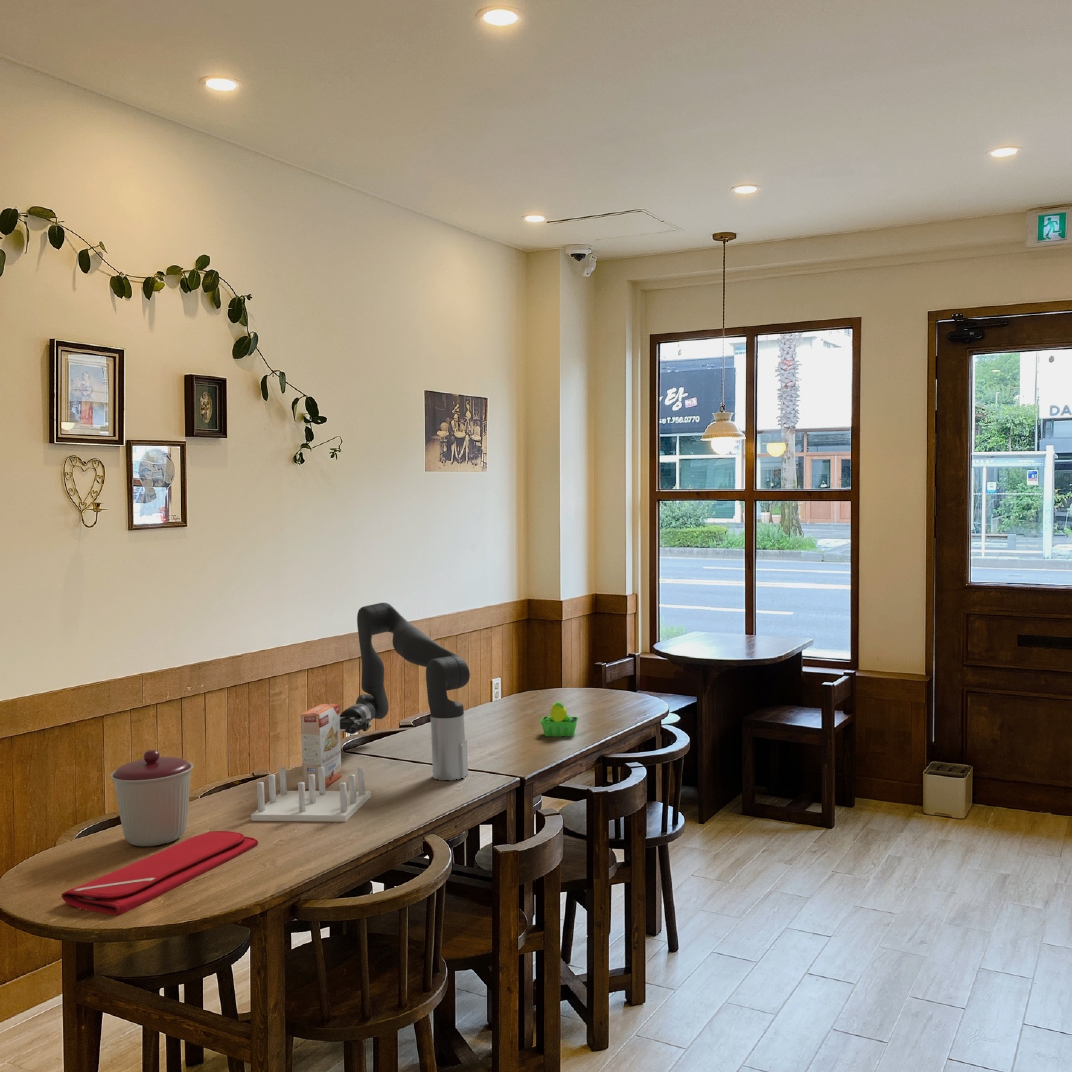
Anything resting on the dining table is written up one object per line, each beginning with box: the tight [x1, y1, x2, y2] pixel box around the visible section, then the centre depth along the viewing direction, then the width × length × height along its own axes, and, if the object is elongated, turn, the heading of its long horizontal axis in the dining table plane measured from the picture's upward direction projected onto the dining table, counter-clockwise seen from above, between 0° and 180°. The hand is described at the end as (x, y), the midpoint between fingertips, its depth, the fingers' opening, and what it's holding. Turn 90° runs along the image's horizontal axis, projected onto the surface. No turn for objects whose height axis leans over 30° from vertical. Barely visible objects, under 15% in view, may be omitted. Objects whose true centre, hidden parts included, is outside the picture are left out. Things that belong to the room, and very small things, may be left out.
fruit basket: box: [540, 701, 579, 738], centre depth 324 cm, size 11×9×11 cm
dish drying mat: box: [61, 830, 259, 917], centre depth 214 cm, size 16×41×4 cm, turn 156°
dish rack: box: [250, 766, 372, 823], centre depth 255 cm, size 24×20×8 cm
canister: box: [109, 749, 194, 847], centre depth 236 cm, size 18×18×21 cm
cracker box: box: [300, 703, 342, 791], centre depth 278 cm, size 14×6×21 cm, turn 168°
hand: (337, 730), depth 290 cm, fingers open, 8 cm apart
